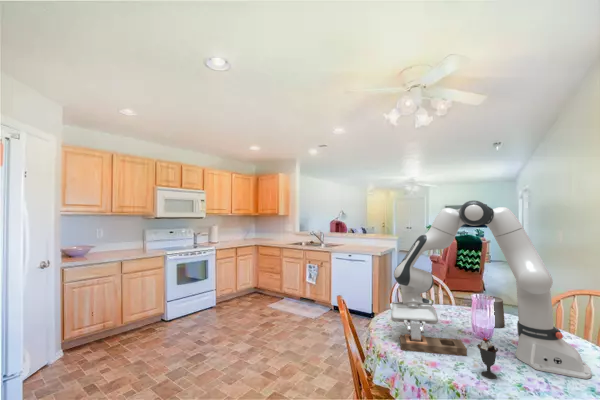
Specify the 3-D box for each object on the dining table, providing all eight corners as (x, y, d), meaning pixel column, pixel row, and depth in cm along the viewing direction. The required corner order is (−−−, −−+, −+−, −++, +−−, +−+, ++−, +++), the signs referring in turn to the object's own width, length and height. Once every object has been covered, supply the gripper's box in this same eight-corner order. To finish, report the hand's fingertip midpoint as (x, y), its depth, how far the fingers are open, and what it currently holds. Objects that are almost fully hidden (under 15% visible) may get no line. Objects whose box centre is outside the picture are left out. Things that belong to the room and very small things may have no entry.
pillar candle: (497, 321, 157) (496, 293, 158) (509, 328, 147) (507, 298, 148) (479, 321, 158) (477, 293, 159) (488, 328, 148) (487, 298, 149)
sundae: (479, 368, 111) (477, 328, 112) (500, 374, 107) (498, 333, 108) (476, 376, 106) (474, 334, 107) (498, 382, 102) (496, 339, 103)
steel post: (419, 342, 132) (419, 320, 132) (421, 346, 128) (420, 323, 128) (410, 341, 132) (409, 319, 133) (411, 345, 129) (410, 323, 129)
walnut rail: (460, 346, 129) (460, 338, 130) (467, 356, 121) (466, 347, 121) (399, 341, 136) (399, 333, 136) (401, 350, 127) (401, 341, 127)
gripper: (389, 298, 140) (391, 326, 130) (435, 300, 135) (440, 330, 125) (389, 304, 144) (391, 332, 134) (433, 307, 139) (439, 336, 129)
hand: (415, 331), depth 130 cm, fingers closed on steel post, 4 cm apart
